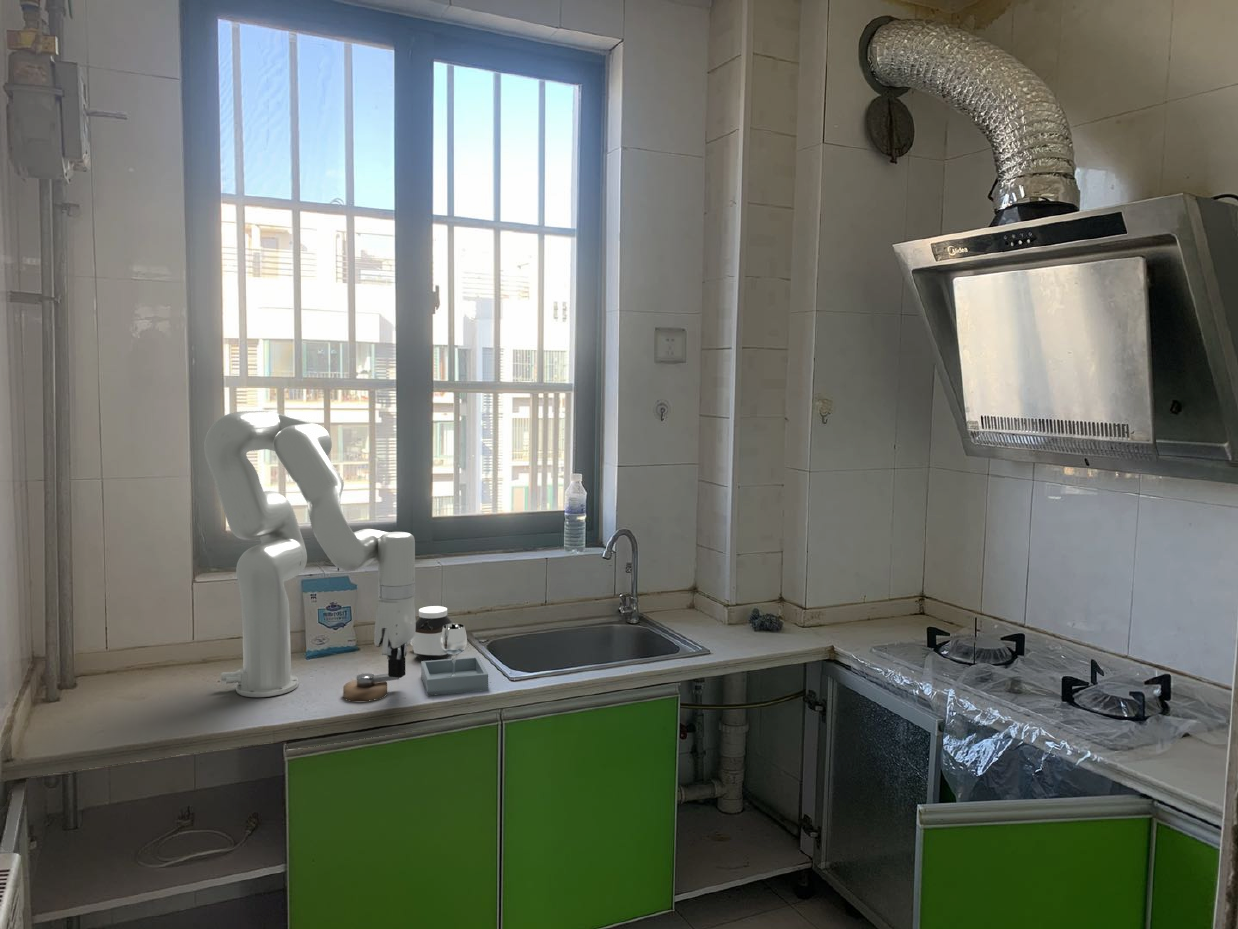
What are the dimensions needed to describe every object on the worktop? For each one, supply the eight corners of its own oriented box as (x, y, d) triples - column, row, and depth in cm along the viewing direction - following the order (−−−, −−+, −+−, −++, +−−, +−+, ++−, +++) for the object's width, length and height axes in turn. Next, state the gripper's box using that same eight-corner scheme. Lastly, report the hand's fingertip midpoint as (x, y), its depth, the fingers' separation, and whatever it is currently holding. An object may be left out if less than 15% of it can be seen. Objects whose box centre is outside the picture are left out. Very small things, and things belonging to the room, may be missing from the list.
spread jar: (436, 664, 207) (436, 616, 206) (395, 658, 211) (394, 611, 210) (461, 650, 218) (461, 604, 217) (422, 645, 222) (421, 600, 221)
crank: (358, 688, 183) (358, 656, 183) (355, 683, 187) (354, 652, 186) (406, 681, 188) (406, 650, 187) (402, 676, 191) (402, 646, 191)
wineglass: (443, 674, 197) (443, 622, 196) (469, 675, 197) (469, 623, 196) (437, 683, 191) (437, 629, 190) (463, 683, 191) (463, 630, 190)
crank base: (343, 704, 180) (343, 694, 180) (343, 689, 189) (343, 680, 189) (388, 699, 183) (388, 690, 183) (386, 685, 192) (385, 676, 191)
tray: (427, 695, 186) (427, 679, 185) (421, 676, 198) (421, 661, 198) (488, 689, 190) (488, 674, 189) (478, 671, 202) (478, 656, 202)
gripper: (397, 582, 192) (397, 663, 193) (362, 598, 177) (362, 685, 179) (428, 584, 190) (428, 667, 191) (395, 600, 175) (396, 689, 177)
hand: (396, 676), depth 185 cm, fingers closed
